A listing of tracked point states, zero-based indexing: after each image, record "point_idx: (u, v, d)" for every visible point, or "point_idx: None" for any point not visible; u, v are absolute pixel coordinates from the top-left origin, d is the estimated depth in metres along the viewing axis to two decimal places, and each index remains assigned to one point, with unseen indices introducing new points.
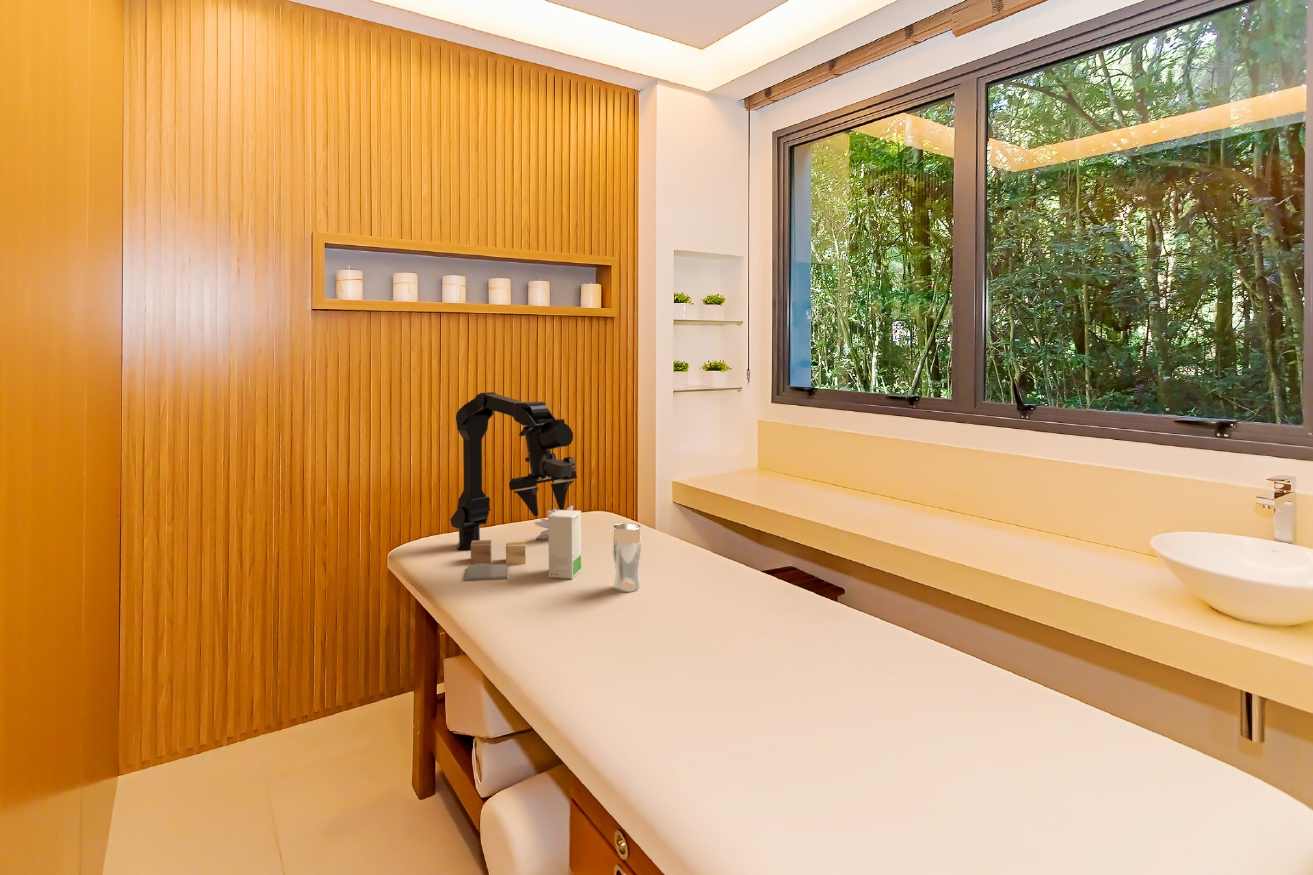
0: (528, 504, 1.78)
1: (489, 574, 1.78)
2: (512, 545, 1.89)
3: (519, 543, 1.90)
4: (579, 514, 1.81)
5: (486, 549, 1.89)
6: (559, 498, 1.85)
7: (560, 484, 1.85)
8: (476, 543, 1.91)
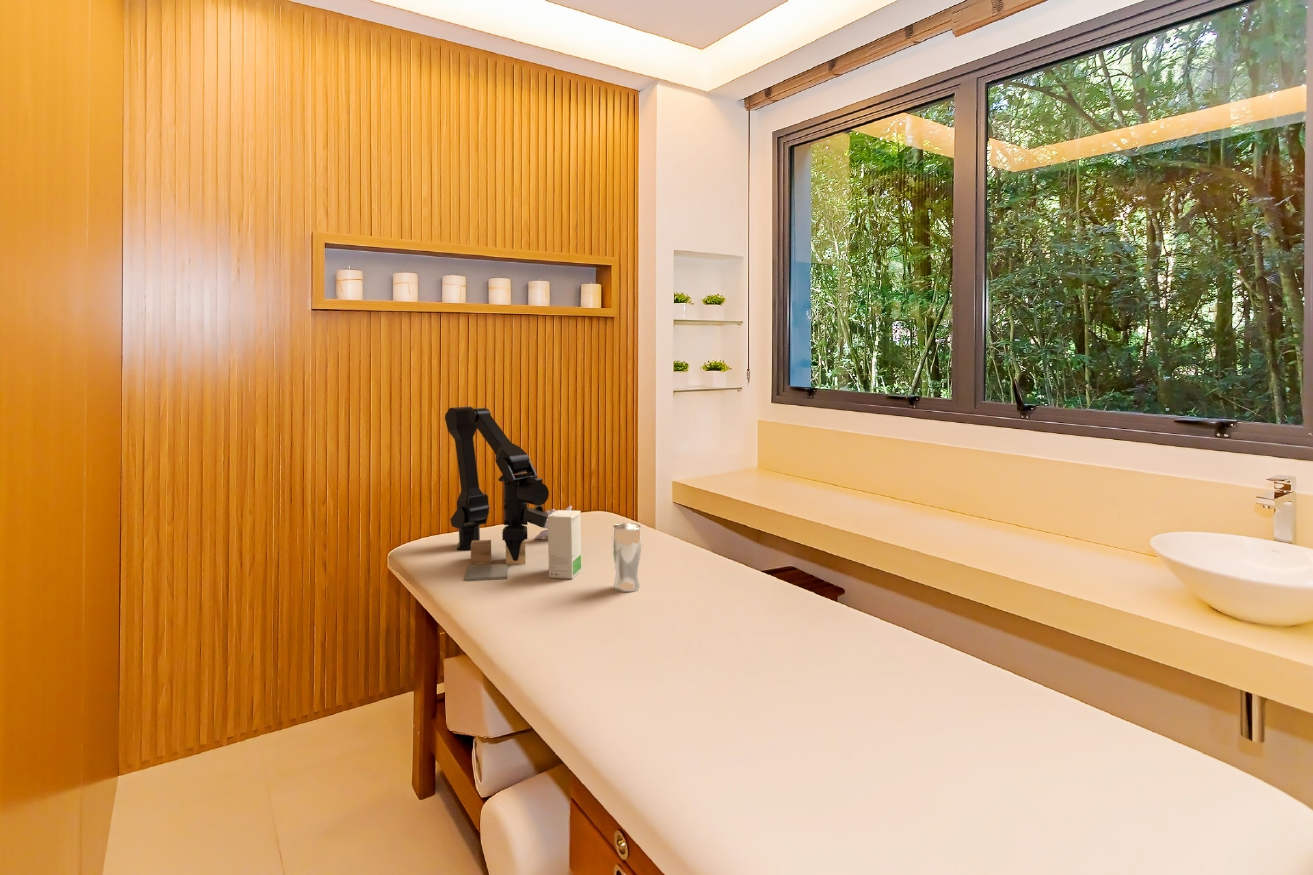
0: (511, 550, 1.87)
1: (489, 574, 1.78)
2: None
3: None
4: (578, 514, 1.81)
5: (486, 549, 1.89)
6: None
7: None
8: (476, 543, 1.91)
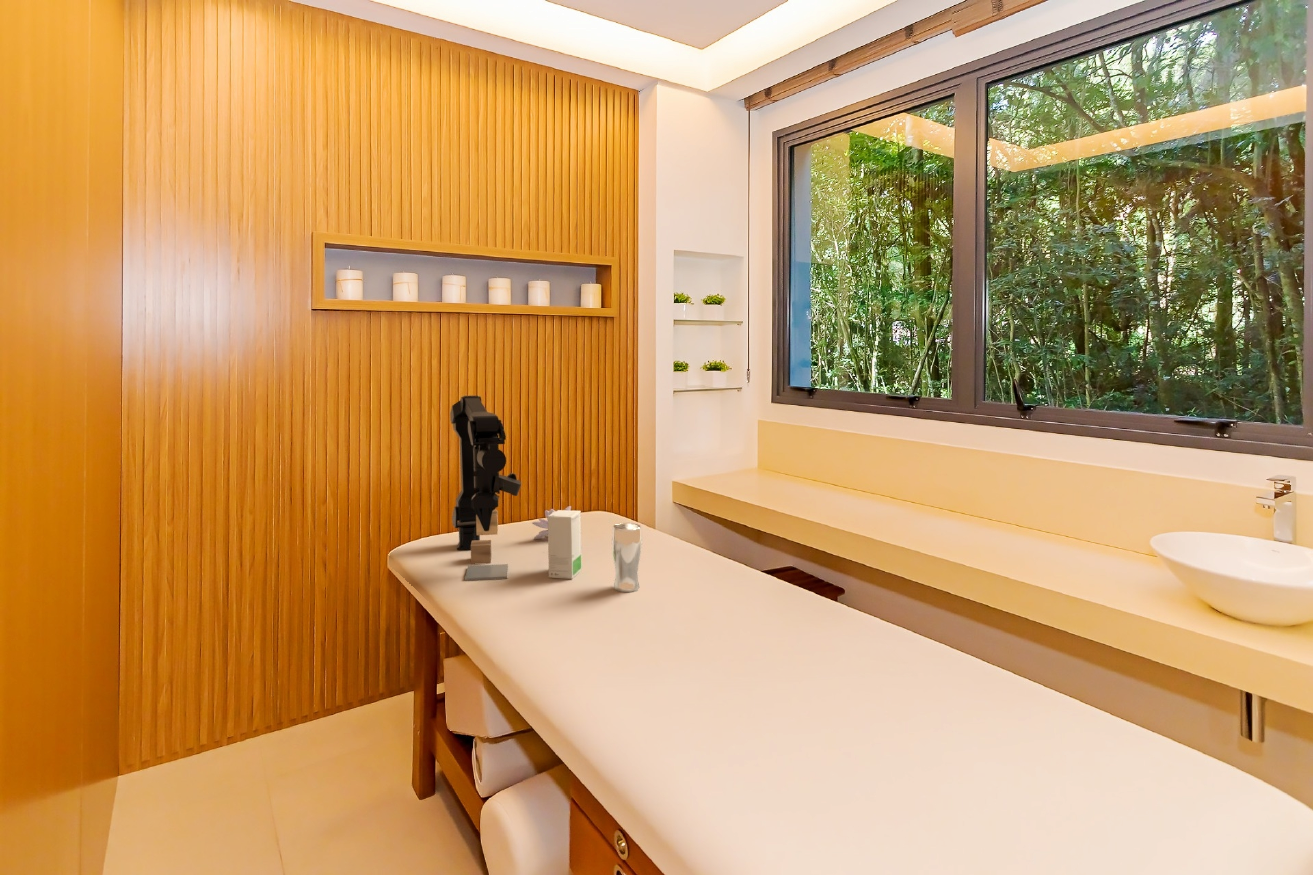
0: (482, 519, 1.76)
1: (489, 574, 1.78)
2: None
3: None
4: (578, 514, 1.81)
5: (486, 549, 1.89)
6: None
7: None
8: (476, 543, 1.91)
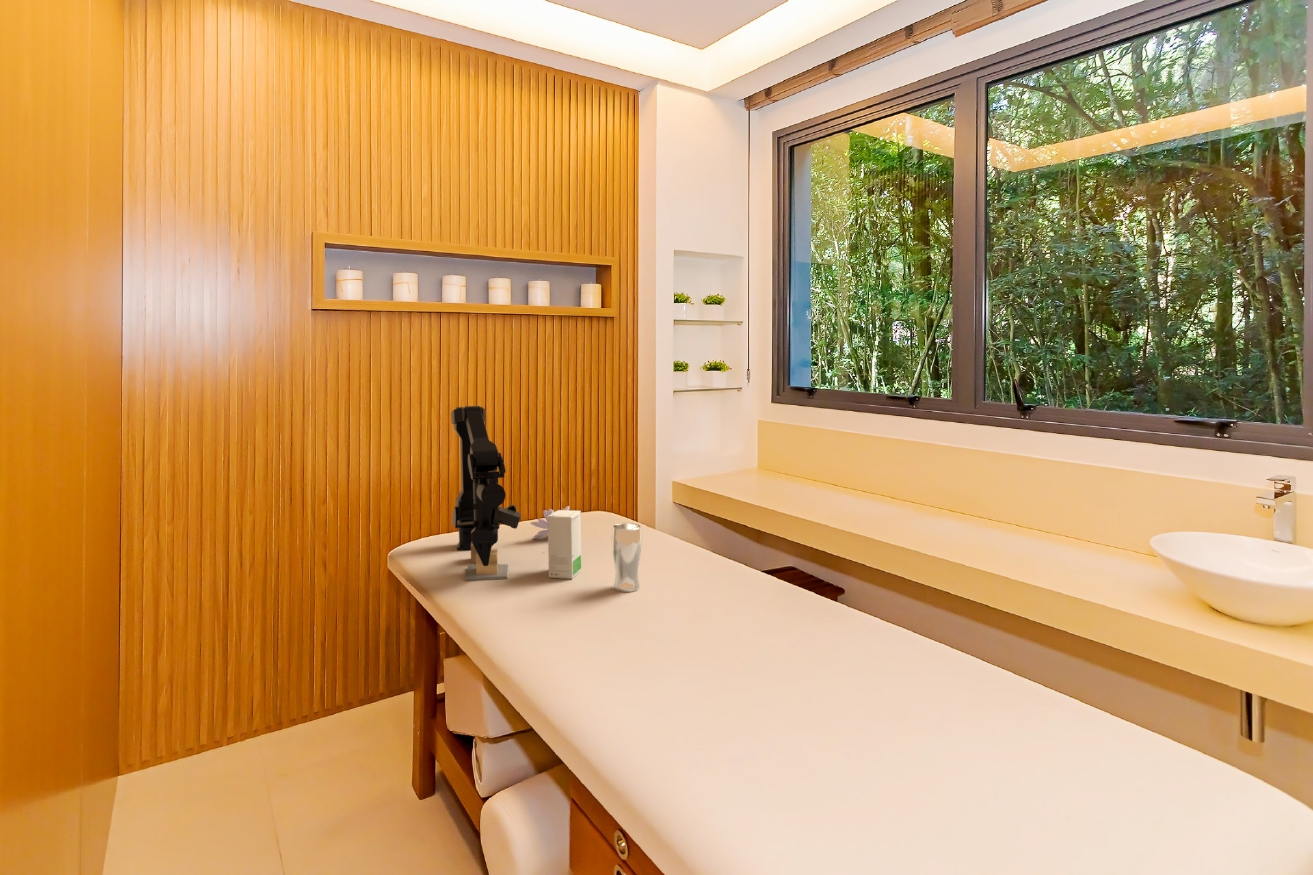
0: (481, 554, 1.75)
1: (489, 574, 1.78)
2: None
3: (490, 552, 1.80)
4: (579, 514, 1.81)
5: None
6: None
7: None
8: None
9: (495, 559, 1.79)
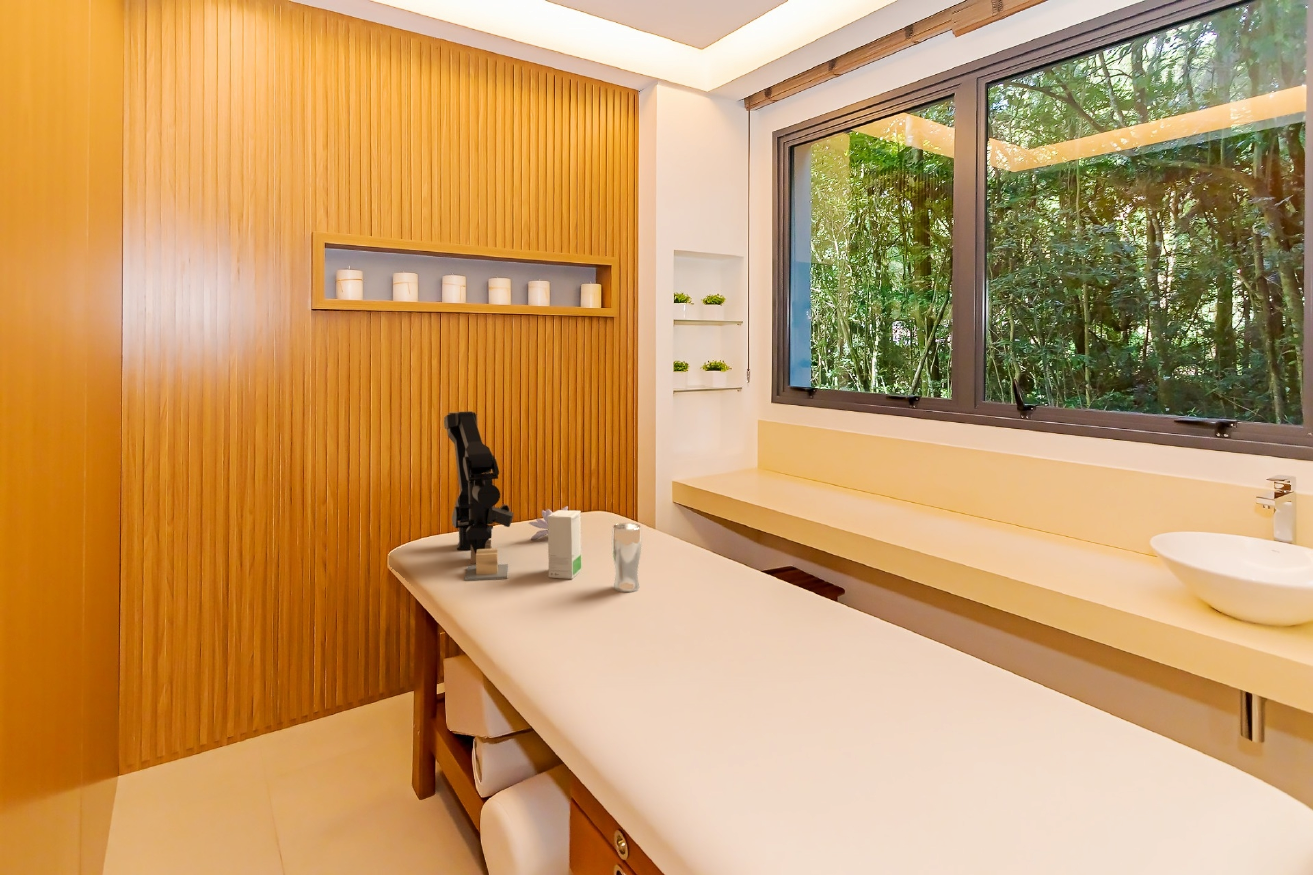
0: (476, 549, 1.87)
1: (489, 574, 1.78)
2: (482, 554, 1.79)
3: (490, 552, 1.80)
4: (578, 514, 1.81)
5: (486, 548, 1.89)
6: None
7: None
8: None
9: (495, 559, 1.79)
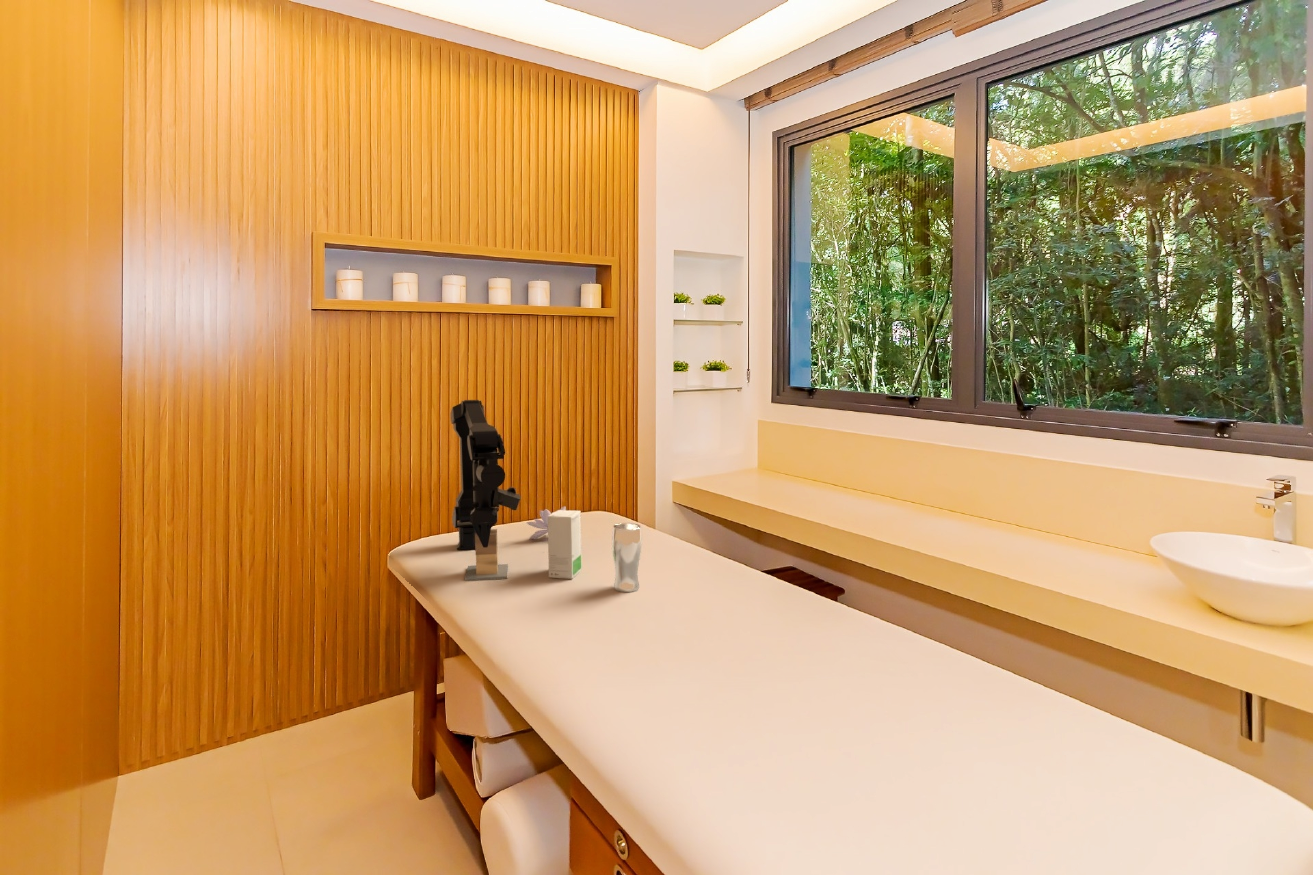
0: (480, 536, 1.74)
1: (489, 574, 1.78)
2: None
3: None
4: (578, 514, 1.81)
5: (491, 538, 1.78)
6: None
7: None
8: None
9: (495, 559, 1.79)
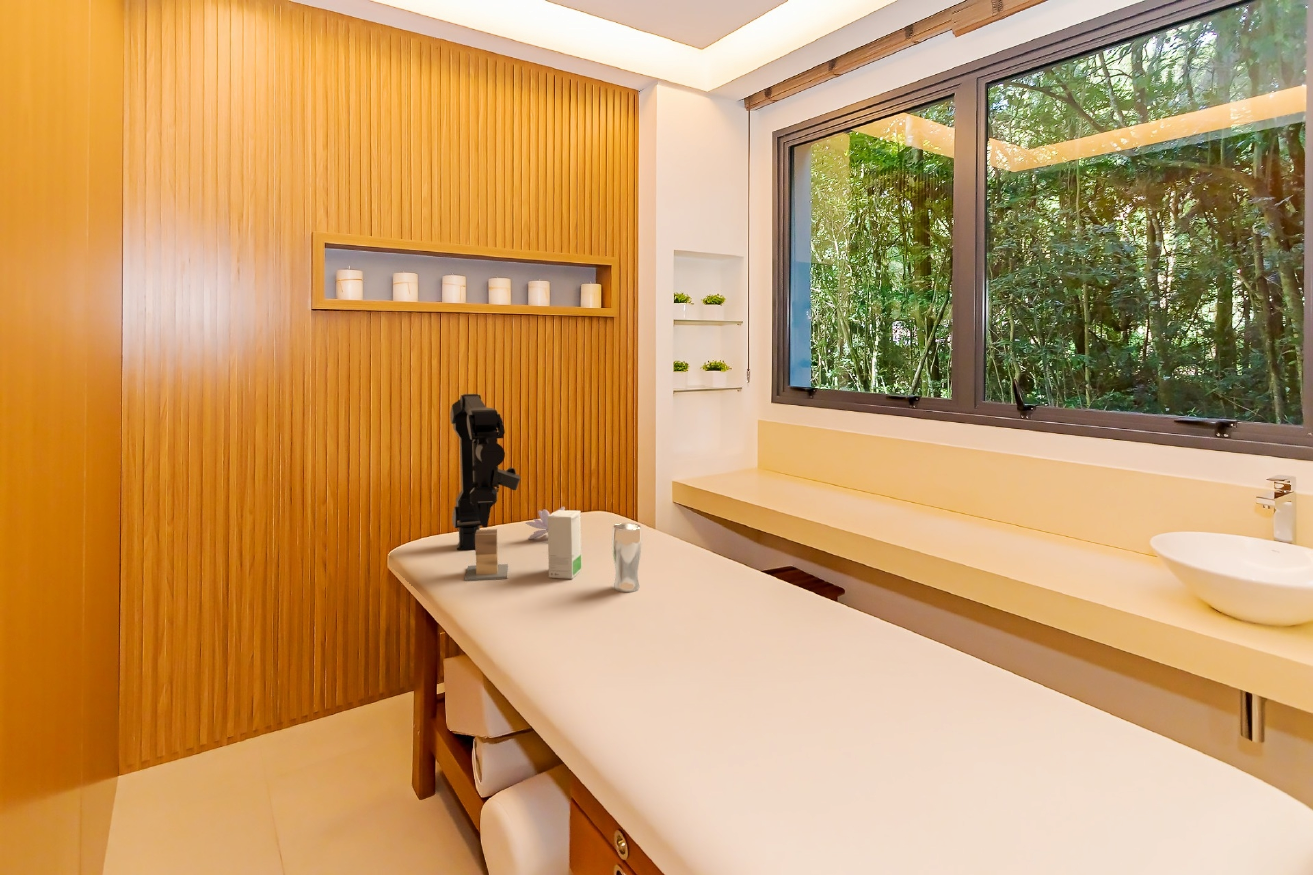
0: (480, 515, 1.74)
1: (489, 574, 1.78)
2: None
3: None
4: (578, 514, 1.81)
5: (491, 538, 1.78)
6: None
7: None
8: (481, 532, 1.80)
9: (495, 559, 1.79)
